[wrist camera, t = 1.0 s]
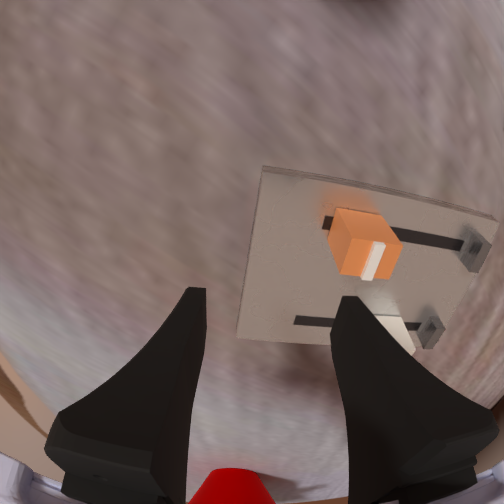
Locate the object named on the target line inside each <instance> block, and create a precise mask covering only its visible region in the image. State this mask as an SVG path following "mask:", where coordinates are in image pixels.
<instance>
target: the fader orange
mask: <svg viewBox="0 0 504 504" xmlns="http://www.w3.org/2000/svg"><path fill="white" fill-rule="evenodd" d="M327 241H328V244H329V246H330V249H331V252H332V254H333V257H334V260H335V263H336V265H337V268H338V271H339V274H342V275H351V276H360V277H361V279H362V280H368V281H372V279H373V278H379V279H389V278H390V276H391V274H392V272H393V269H394V267H395V265H396V262H397V260H398V257H399V255H400V253H401V250H402V248H403V245H402V243H401V242H400V240H399V239H398V237H397V236H396V235H395V233H394V232H393V230H392V229H391V228H390V226H389V225H388V224H387V222H386V221H385V219H384V218H383V217H382V216H381V215H376V214H370V213H365V212H359V211H354V210H348V209H342V208H336V211H335V214H334V218H333V221H332V225H331V228H330V232H329V235H328V239H327Z"/></svg>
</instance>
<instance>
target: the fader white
mask: <svg viewBox="0 0 504 504" xmlns="http://www.w3.org/2000/svg"><path fill="white" fill-rule="evenodd" d="M374 316H375V315H374ZM375 317H376V318H377V319H378V320H379V322H380V323H381V324H382V325H383V326H384V327H385V328H386V330H387V331H388V332H389V333H390V334H391V335H392V336H393V337H394V339H395V340H396V341H397V342H398V343H399V344H400V345H401V346H402V347H403V348H404V349H405V350H406V351H407V352H408V353H409V354H410V355H411V356H412V355H413V353H414V352H415V350H416V349H415V347H414V344H413V342H412V340H411V338H410V335H409V333H408V331H407V329H406V326H405V324H404V322H403V320H402V318H401V317H393V316H375Z"/></svg>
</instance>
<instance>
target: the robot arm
mask: <svg viewBox="0 0 504 504" xmlns="http://www.w3.org/2000/svg"><path fill="white" fill-rule="evenodd" d="M206 330H207V321H206V288H197V287H188V288H187V289H186V290H185V292H184V294H183V295H182V297H181V299H180V300H179V302H178V303H177V305H176V306H175V308H174V309H173V311H172V312H171V314H170V315H169V316H168V318H167V319H166V320H165V322H164V323H163V324H162V326H161V327H160V328H159V329H158V331H157V332H156V333H155V334H154V335H153V337H152V338H151V339H150V340H149V341H148V343H147V344H146V345H145V346H144V347H143V348H142V349H141V350H140V351H139V352H138V353H137V354H136V355H135V356H134V357H133V358H132V359H131V360H130V361H129V362H128V363H127V364H126V365H125V366H124V367H123V368H121V369H120V370H119V371H118V372H117V373H116V374H115V375H113V376H112V377H111V378H110V379H109V380H107V381H106V382H105V383H103V384H102V385H101V386H99V387H98V388H96V389H95V390H94V391H92V392H91V393H90V394H88V395H87V396H85V397H84V398H82V399H80V400H79V401H77V402H75V403H74V404H72V405H70V406H69V407H67V408H65V409H64V410H62V411H60V412H58V415H57V417H56V419H55V420H54V422H53V424H52V427H51V429H50V432H49V435H48V438H47V441H46V444H45V447H44V450H45V453H46V454H47V456H48V457H49V458H50V459H51V460H52V461H53V462H54V463H55V464H57V465H58V466H59V467H60V468H61V469H62V470H64V471H65V476H64V479H63V483H61V482H59V481H56V480H53V479H51V478H48V477H45V476H43V475H40V474H38V473H35V472H33V470H32V469H31V468H29V467H28V466H27V465H25V464H24V463H22V462H20V461H18V460H16V459H14V458H12V457H10V456H8V455H6V454H4V453H2V452H0V504H185V501H186V477H187V461H188V447H189V435H190V424H191V414H192V408H193V402H194V397H195V392H196V388H197V383H198V379H199V374H200V369H201V365H202V360H203V356H204V349H205V340H206ZM330 342H331V351H332V358H333V363H334V367H335V371H336V376H337V380H338V384H339V388H340V392H341V396H342V401H343V405H344V410H345V416H346V426H347V437H348V453H349V494H348V497H349V498H348V504H504V459H503V460H501V461H500V462H498V463H497V464H496V465H494V466H493V467H492V468H491V469H489V470H486V471H484V472H482V473H480V474H477V475H476V474H475V471H474V467H473V466H474V465H476V464H477V459H476V457H475V455H476V454H478V453H479V452H480V451H481V450H483V449H484V448H485V447H486V446H487V445H489V444H490V443H491V442H492V441H493V440H494V439H495V438H496V437H497V435H498V433H499V428H498V426H497V423H496V421H495V418H494V416H493V413H492V411H491V410H489V409H487V408H485V407H483V406H481V405H479V404H477V403H475V402H473V401H471V400H470V399H468V398H466V397H465V396H463V395H461V394H460V393H458V392H456V391H455V390H453V389H452V388H450V387H449V386H447V385H446V384H445V383H443V382H442V381H441V380H439V379H438V378H437V377H435V376H434V375H433V374H432V373H430V372H429V371H428V370H427V369H426V368H424V367H423V366H422V365H421V364H420V363H419V362H418V361H416V360H415V359H414V358H413V357H412V356H411V355H410V354H409V353H408V352H407V351H406V350H405V349H404V348H403V347H402V346H401V345H400V344H399V343H398V342H397V341H396V340H395V339H394V337H393V336H392V335H391V334H390V333H389V332H388V331H387V330H386V328H385V327H384V326H383V325H382V324H381V323H380V322H379V320H378V319H377V318H376V317H375V316H374V315H373V313H372V312H371V311H370V310H369V309H368V307H367V306H366V305H365V304H364V303H363V302H362V300H361V299H360V298H359V297H358V296H342V298H341V301H340V304H339V307H338V311H337V314H336V317H335V320H334V323H333V326H332V329H331V332H330Z"/></svg>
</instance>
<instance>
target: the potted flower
mask: <svg viewBox="0 0 504 504" xmlns="http://www.w3.org/2000/svg"><path fill="white" fill-rule="evenodd" d="M188 504H276V503H275V502H274V500H273V499H272V497H271V496H270V494H269V493H268V491H267V489H266V488H265V486H264V485H263V483H262V482H261V480H260V478H259V477H258V475H257V474H256V473H255V472H253V471H250V470H245V469H237V468H223V469H216V470H213V471H212V472H211V473H210V474H209V476H208V477H207V478H206V480H205V481H204V483H203V484H202V485H201V487H200V488H199V490H198V491H197V492H196V494H195V495H194V496H193V498H192V499H191V500H190V502H189V503H188Z"/></svg>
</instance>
